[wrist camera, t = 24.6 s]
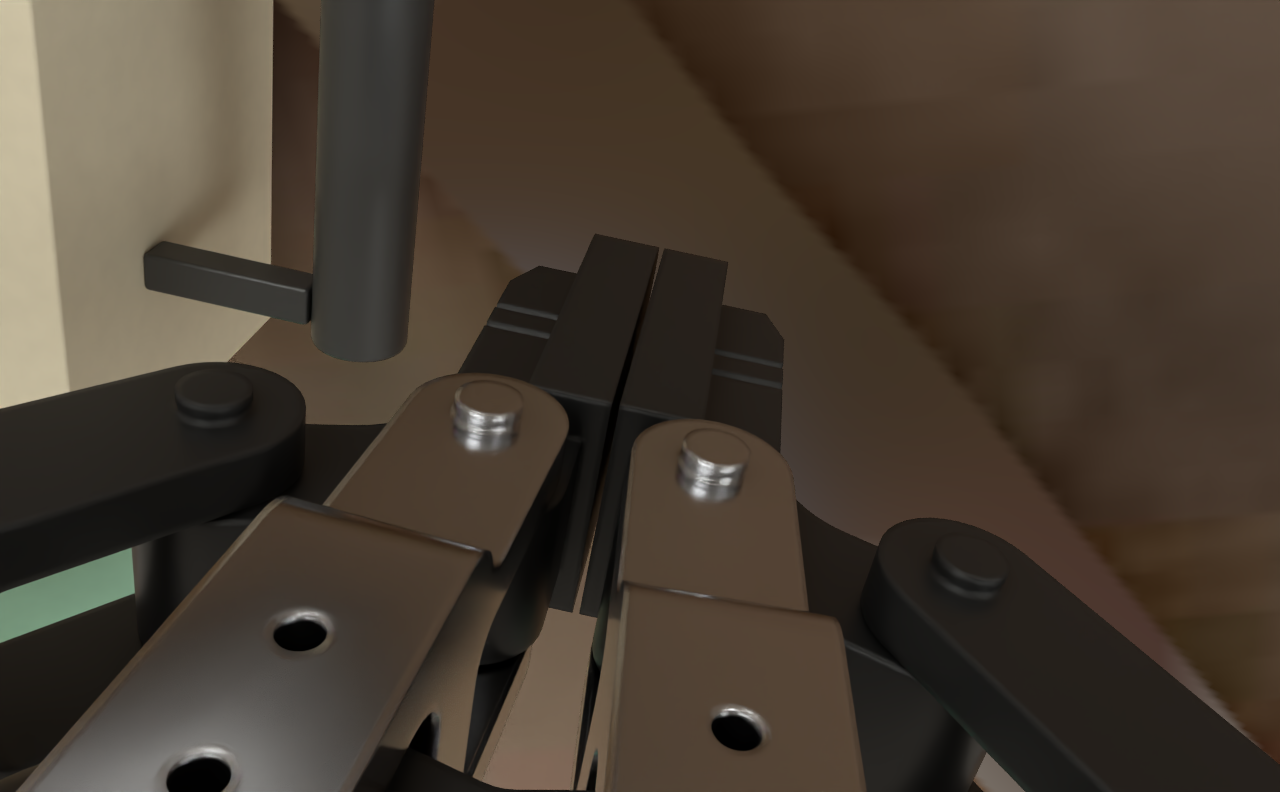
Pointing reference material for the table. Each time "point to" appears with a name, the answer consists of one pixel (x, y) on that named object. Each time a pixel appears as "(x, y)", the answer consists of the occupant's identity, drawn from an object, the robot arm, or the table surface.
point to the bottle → (65, 594)
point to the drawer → (196, 185)
